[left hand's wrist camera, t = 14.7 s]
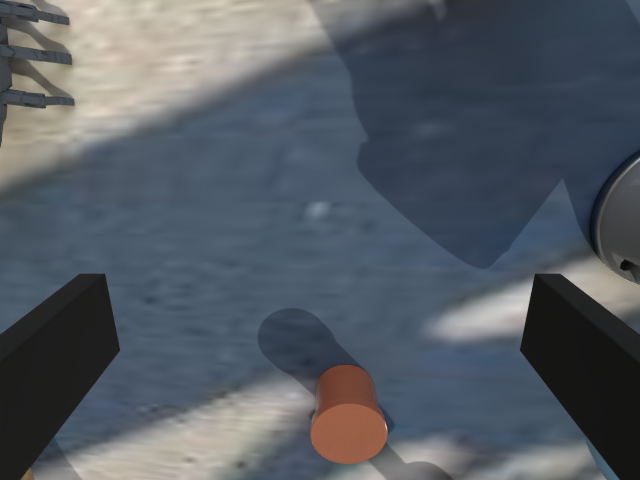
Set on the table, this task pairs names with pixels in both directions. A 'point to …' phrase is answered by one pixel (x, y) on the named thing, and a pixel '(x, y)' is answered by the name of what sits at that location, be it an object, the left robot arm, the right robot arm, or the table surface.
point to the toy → (3, 80)
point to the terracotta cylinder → (347, 416)
